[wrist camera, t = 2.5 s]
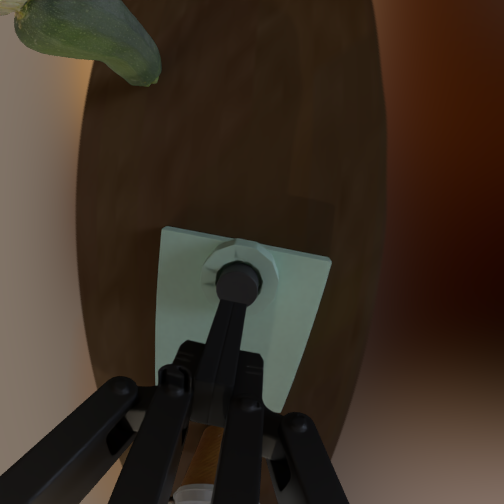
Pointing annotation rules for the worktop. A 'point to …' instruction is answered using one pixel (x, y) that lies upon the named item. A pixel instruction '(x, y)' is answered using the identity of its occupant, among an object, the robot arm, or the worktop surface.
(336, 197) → the worktop surface
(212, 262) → the scale
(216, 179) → the worktop surface
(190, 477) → the disposable coffee cup
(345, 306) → the worktop surface
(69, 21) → the vegetable
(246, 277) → the button
